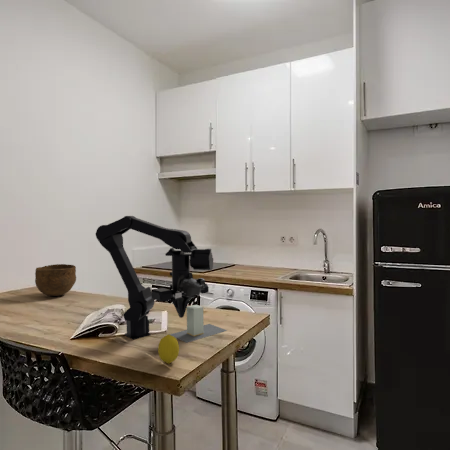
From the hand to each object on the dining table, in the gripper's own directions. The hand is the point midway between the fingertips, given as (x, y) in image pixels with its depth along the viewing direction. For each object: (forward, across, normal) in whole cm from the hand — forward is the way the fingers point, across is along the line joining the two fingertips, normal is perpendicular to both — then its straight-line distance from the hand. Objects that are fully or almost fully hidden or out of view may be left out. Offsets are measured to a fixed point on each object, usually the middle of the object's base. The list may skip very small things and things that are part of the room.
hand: (181, 317), depth 112 cm
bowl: (+7, -13, +94) cm, 95 cm away
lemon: (+7, -14, -14) cm, 21 cm away
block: (+6, +6, 0) cm, 9 cm away
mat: (+7, +7, 0) cm, 10 cm away
